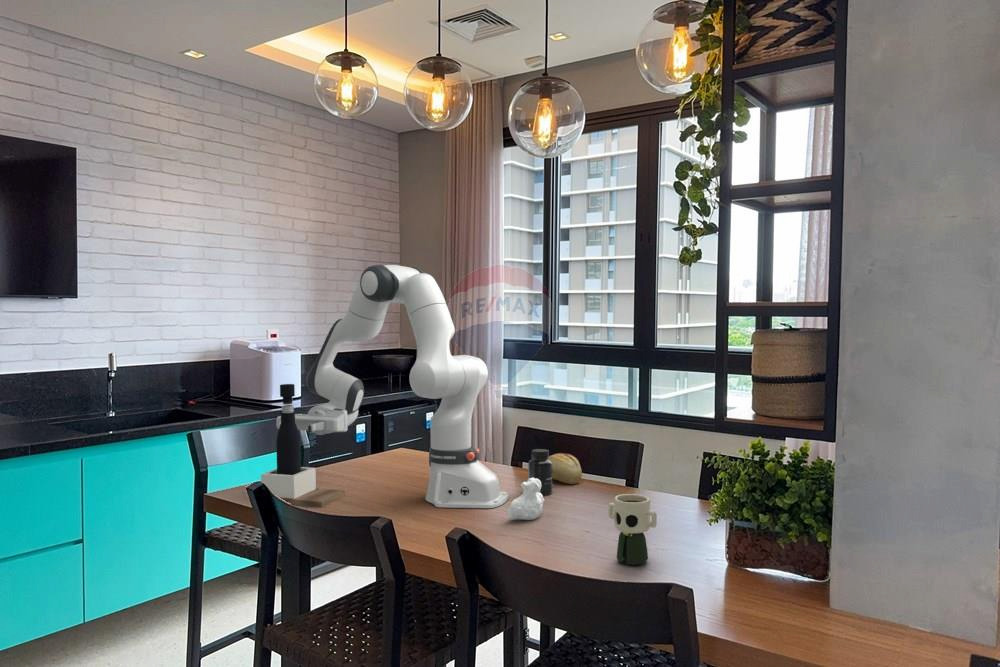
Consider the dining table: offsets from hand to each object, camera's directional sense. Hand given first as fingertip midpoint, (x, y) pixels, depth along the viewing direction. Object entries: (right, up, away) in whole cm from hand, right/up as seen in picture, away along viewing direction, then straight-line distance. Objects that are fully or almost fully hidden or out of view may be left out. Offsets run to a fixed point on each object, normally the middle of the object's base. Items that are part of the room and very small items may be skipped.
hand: (295, 427), depth 197 cm
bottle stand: (+3, -19, -4) cm, 20 cm away
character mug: (+84, -20, -55) cm, 103 cm away
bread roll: (+76, -18, +14) cm, 79 cm away
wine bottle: (-1, -18, -3) cm, 18 cm away
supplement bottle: (+69, -19, -1) cm, 71 cm away
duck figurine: (+65, -19, -25) cm, 72 cm away
